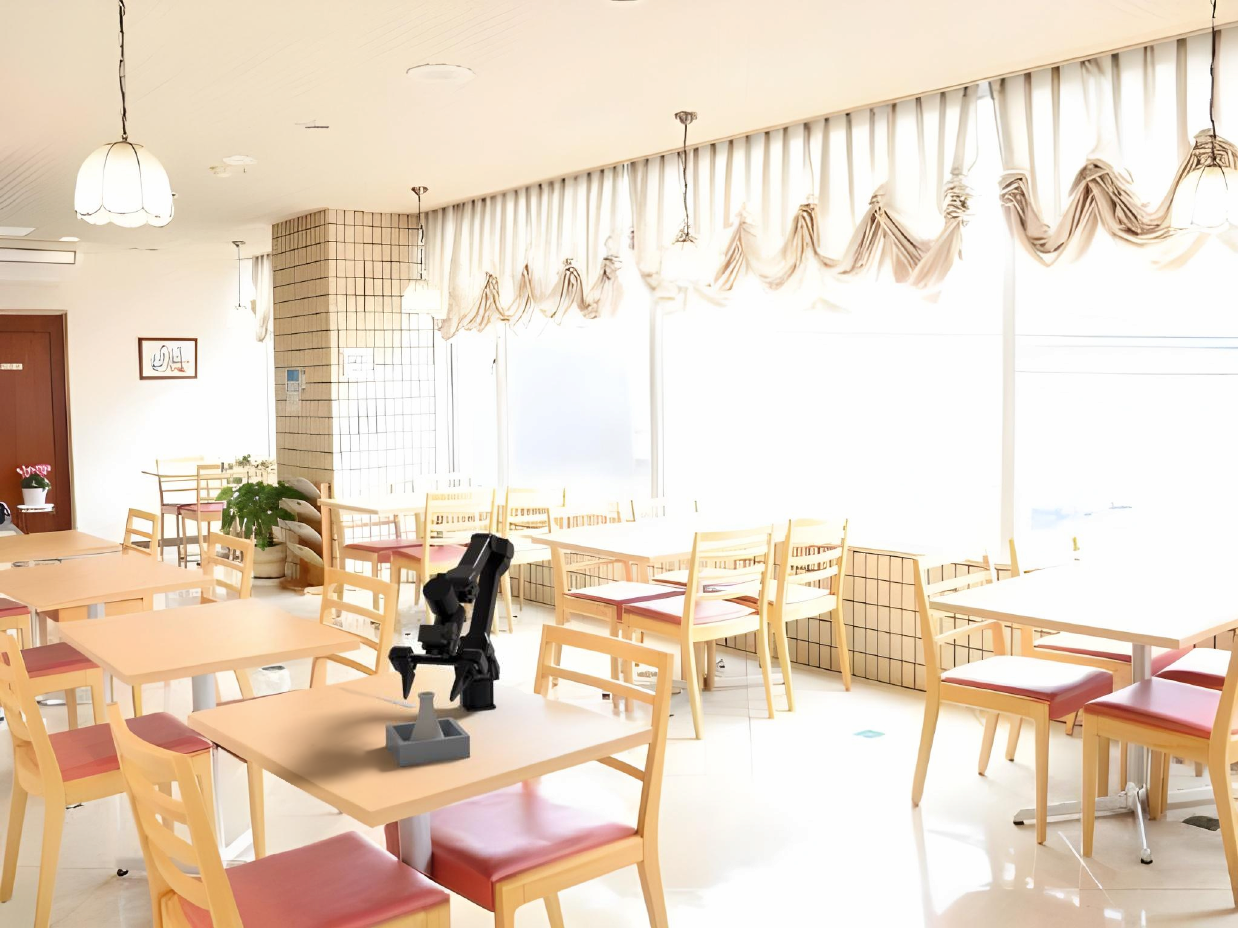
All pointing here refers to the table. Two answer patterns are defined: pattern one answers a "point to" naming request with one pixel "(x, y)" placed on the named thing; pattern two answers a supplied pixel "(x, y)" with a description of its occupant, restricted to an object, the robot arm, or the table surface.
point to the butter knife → (399, 703)
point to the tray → (427, 743)
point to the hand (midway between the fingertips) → (427, 699)
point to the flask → (426, 720)
